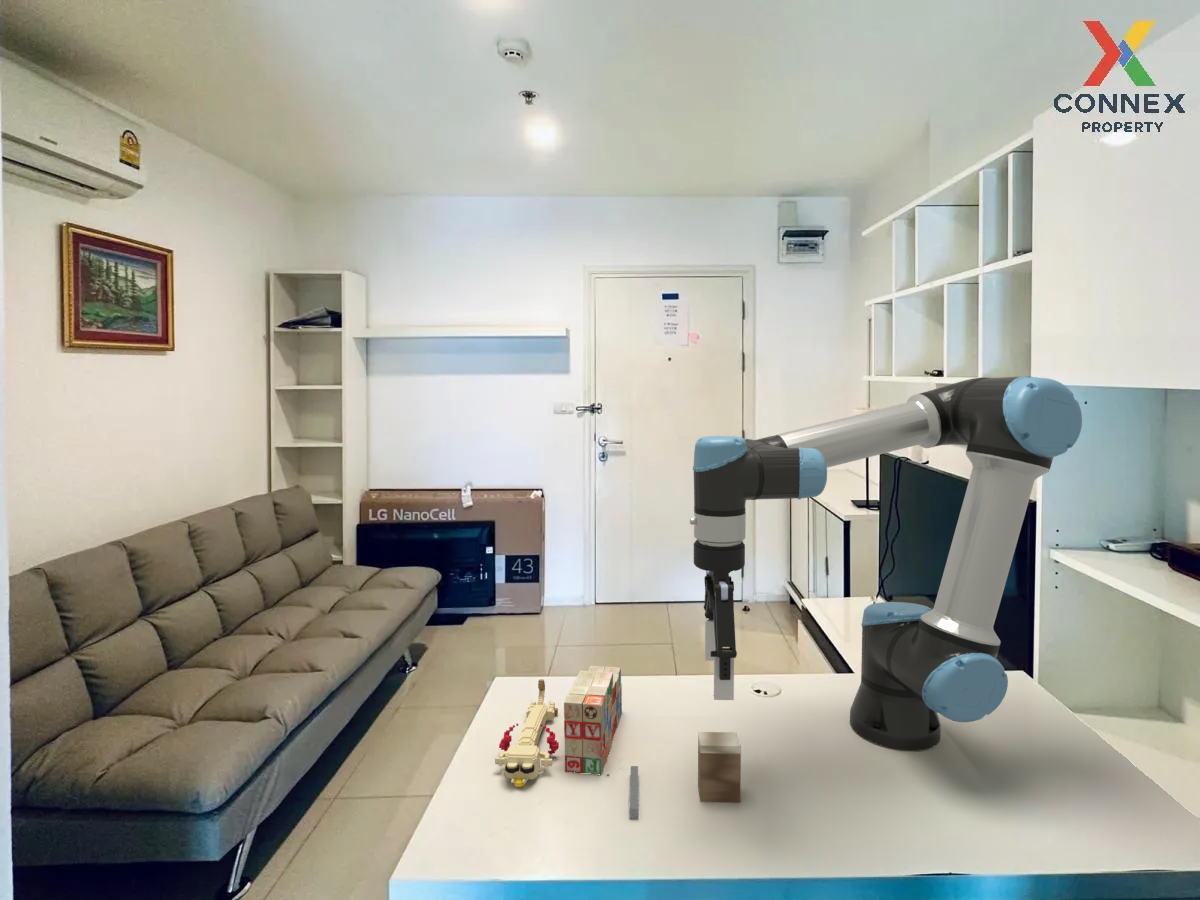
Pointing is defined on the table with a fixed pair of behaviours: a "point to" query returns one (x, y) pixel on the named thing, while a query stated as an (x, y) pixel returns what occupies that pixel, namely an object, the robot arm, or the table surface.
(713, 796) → the walnut block
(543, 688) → the cream long toy figure
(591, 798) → the table surface
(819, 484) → the robot arm
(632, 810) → the grey bar
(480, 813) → the table surface
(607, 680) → the stack of blocks
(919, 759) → the table surface
